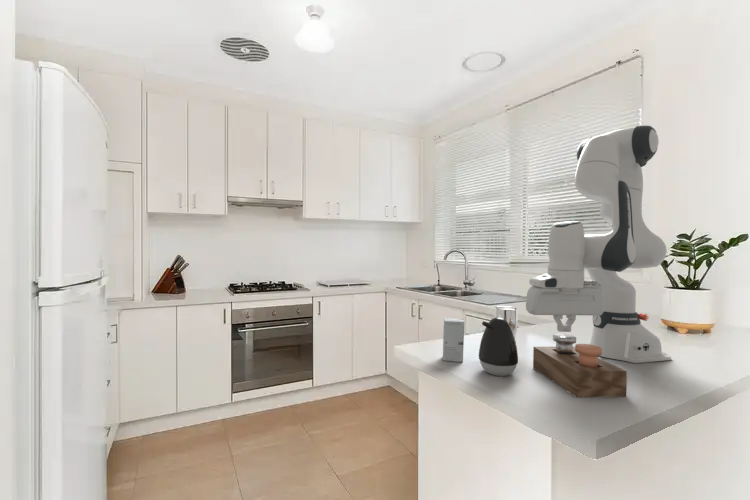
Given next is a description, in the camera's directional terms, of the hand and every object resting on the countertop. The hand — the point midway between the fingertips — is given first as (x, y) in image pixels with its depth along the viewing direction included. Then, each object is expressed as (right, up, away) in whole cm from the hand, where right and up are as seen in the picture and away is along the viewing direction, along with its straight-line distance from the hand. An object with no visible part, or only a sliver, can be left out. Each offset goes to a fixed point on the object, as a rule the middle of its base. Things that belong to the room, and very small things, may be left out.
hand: (564, 331), depth 98 cm
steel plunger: (0, -6, 0) cm, 6 cm away
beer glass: (-10, -12, +17) cm, 23 cm away
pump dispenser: (-18, -12, 0) cm, 21 cm away
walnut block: (0, -12, -5) cm, 13 cm away
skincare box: (-28, -11, +12) cm, 32 cm away
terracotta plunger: (+1, -7, -10) cm, 12 cm away
